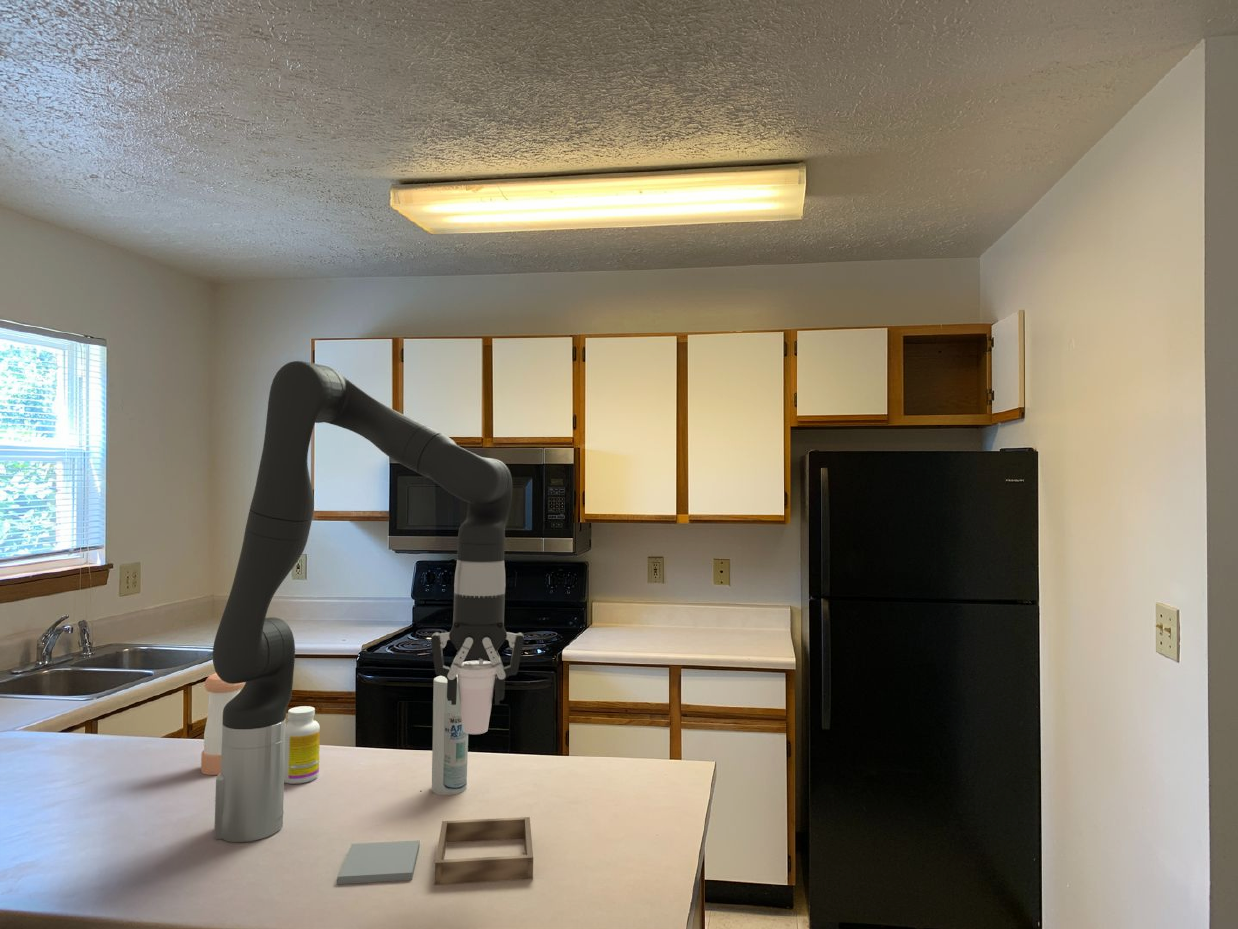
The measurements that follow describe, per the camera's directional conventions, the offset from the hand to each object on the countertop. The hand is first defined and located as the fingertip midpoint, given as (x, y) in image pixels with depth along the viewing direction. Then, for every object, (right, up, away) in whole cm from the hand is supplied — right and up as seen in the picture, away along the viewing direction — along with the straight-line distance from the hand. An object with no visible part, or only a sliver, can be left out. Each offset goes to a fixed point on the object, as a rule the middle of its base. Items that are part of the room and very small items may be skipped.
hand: (475, 702), depth 116 cm
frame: (+1, -23, -1) cm, 23 cm away
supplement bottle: (-39, -24, +30) cm, 54 cm away
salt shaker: (-55, -23, +34) cm, 69 cm away
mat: (-13, -23, -3) cm, 26 cm away
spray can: (-10, -24, +26) cm, 37 cm away
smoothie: (0, -4, 0) cm, 4 cm away
